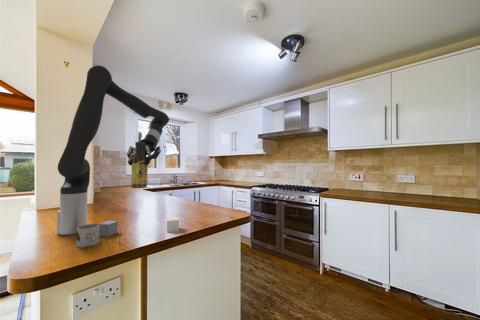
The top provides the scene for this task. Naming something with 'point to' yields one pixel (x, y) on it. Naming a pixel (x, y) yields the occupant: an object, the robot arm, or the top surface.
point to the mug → (87, 235)
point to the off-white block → (172, 224)
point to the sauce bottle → (139, 167)
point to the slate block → (108, 228)
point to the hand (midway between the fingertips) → (137, 164)
